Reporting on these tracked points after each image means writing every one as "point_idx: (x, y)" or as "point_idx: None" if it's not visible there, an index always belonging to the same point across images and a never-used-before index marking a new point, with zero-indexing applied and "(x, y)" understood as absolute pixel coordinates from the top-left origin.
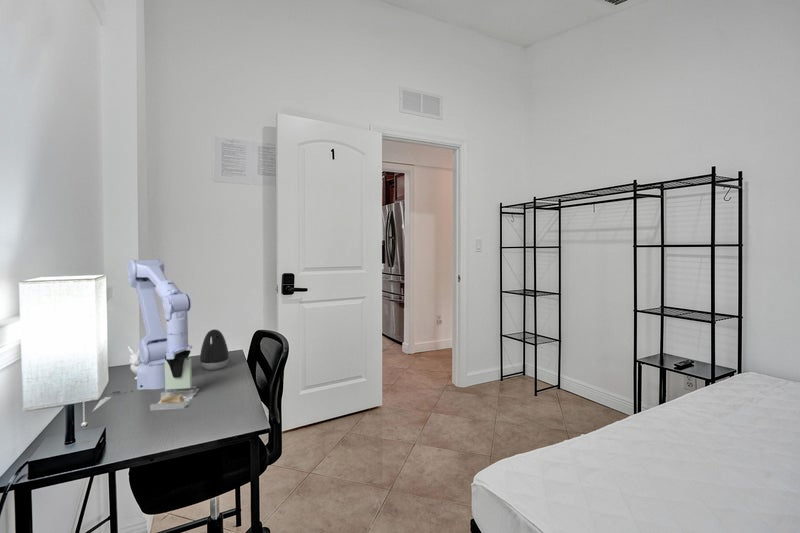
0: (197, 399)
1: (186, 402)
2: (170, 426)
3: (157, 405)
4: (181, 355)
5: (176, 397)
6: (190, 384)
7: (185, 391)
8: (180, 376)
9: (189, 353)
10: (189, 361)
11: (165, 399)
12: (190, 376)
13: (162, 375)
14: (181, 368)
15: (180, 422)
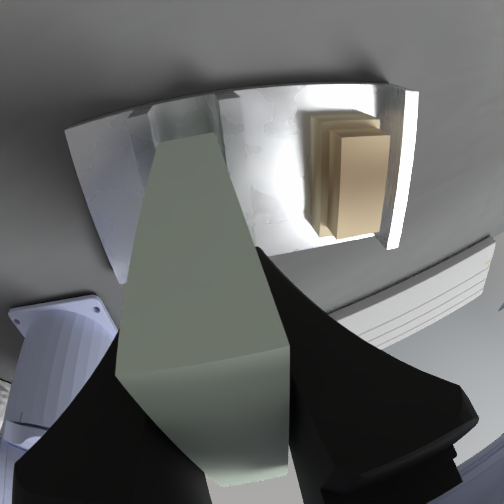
0: (212, 66)
1: (325, 97)
2: (493, 106)
3: (400, 216)
4: (365, 484)
5: (385, 153)
6: (197, 141)
7: (244, 147)
8: (262, 250)
9: (41, 467)
10: (265, 306)
11: (378, 207)
12: (196, 168)
13: (85, 379)
14: (309, 299)
15: (478, 77)
